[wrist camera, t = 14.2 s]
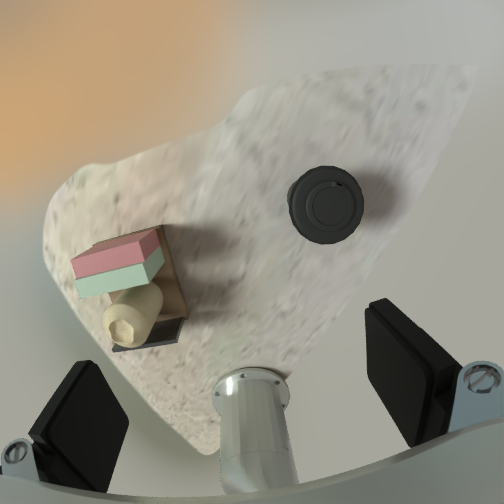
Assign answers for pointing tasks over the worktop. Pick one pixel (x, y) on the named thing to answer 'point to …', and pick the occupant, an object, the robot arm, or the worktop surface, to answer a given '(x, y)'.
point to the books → (118, 264)
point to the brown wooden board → (162, 282)
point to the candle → (133, 314)
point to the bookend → (158, 335)
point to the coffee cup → (325, 204)
